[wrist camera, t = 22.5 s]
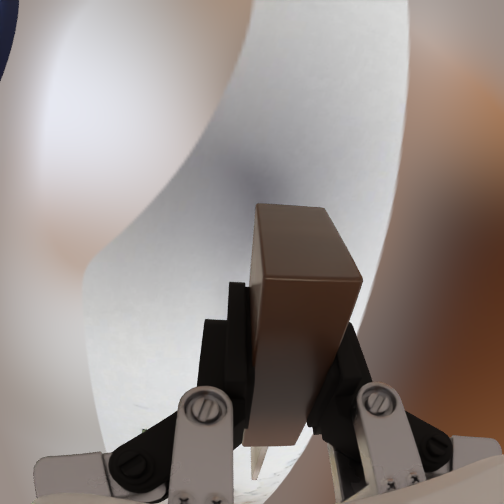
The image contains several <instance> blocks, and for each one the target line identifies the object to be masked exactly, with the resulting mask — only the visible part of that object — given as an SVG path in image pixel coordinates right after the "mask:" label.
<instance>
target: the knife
mask: <svg viewBox="0 0 504 504" xmlns="http://www.w3.org/2000/svg"><path fill="white" fill-rule="evenodd" d="M362 283H363V278H362V276H361V274H360V272H359V270H358V268H357V266H356V264H355V262H354V260H353V259H352V257H351V255H350V253H349V251H348V249H347V247H346V246H345V244H344V242H343V240H342V238H341V237H340V235H339V233H338V231H337V229H336V228H335V226H334V224H333V222H332V220H331V219H330V217H329V215H328V214H327V212H326V210H325V209H324V208H320V207H307V206H294V205H279V204H263V203H257V204H256V207H255V219H254V231H253V243H252V256H251V268H250V280H249V289H250V318H251V347H252V366H253V367H255V386H254V393H253V400H252V406H251V413H250V420H249V426H248V429H244V433H243V441H242V445H243V446H244V447H251V474H252V480H257V478H258V475H259V472H260V469H261V466H262V464H263V461H264V458H265V455H266V452H267V449H268V446H292V445H295V443H296V442H297V440H298V438H299V436H300V434H301V432H302V430H303V428H304V426H305V424H306V422H307V418H308V416H309V413H310V411H311V409H312V407H313V405H314V403H315V401H316V398H317V396H318V394H319V392H320V389H321V387H322V385H323V383H324V380H325V378H326V376H327V373H328V371H329V369H330V366H332V364H333V361H334V359H335V356H336V354H337V351H338V349H339V346H340V344H341V341H342V339H343V336H344V334H345V331H346V328H347V326H348V323H349V320H350V317H351V315H352V312H353V309H354V306H355V303H356V301H357V298H358V295H359V292H360V289H361V286H362Z"/></svg>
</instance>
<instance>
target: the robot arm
mask: <svg viewBox="0 0 504 504" xmlns="http://www.w3.org/2000/svg"><path fill="white" fill-rule="evenodd" d="M254 386H255V367H253V366H252V347H251V318H250V289H249V287H245V283H242V282H229V296H228V315H227V320H212V319H205V322H204V330H203V338H202V346H201V354H200V363H199V372H198V381H197V387H195V388H192V389H190V390H189V391H187V392H186V393H185V394H184V395H183V396H182V397H181V399H180V402H179V405H178V411H176V412H175V413H173V414H172V415H170V416H169V417H167V418H165V419H164V420H162V421H161V422H159V423H158V424H156V425H154V426H153V427H151V428H150V429H148V430H146V431H145V432H143V433H141V434H140V435H138V436H137V437H135V438H133V439H132V440H130V441H128V442H126V443H125V444H123V445H121V446H120V447H118V448H117V449H116V450H115V451H113V452H111V453H104V454H102V452H93V453H84V454H73V455H61V456H47V457H43V458H41V459H40V460H38V461H37V462H36V465H35V466H34V472H33V476H34V484H35V491H36V497H37V499H36V500H34V501H33V502H32V503H31V504H154V503H159V502H161V501H164V500H165V499H167V498H168V504H234V500H233V450H234V449H235V448H237V447H238V446H239V445H240V444H241V443H242V441H243V433H244V429H248V426H249V420H250V413H251V406H252V400H253V393H254ZM307 425H308V427H313V433H314V435H318V434H322V439H323V440H324V441H325V442H327V443H328V452H329V458H330V464H331V471H332V477H333V484H334V490H335V496H336V504H504V455H502V450H501V447H500V445H499V443H498V442H497V441H496V440H494V439H491V438H479V437H466V436H452V437H451V438H449V437H448V435H446V434H445V433H444V432H442V431H440V430H439V429H437V428H435V427H433V426H432V425H430V424H428V423H426V422H424V421H423V420H421V419H419V418H417V417H415V416H414V415H412V414H410V413H408V412H407V411H405V410H404V407H403V405H402V402H401V399H400V397H399V395H398V393H397V392H396V391H395V390H394V388H392V387H391V386H389V385H387V384H385V383H382V382H372V379H371V376H370V373H369V370H368V367H367V364H366V361H365V359H364V355H363V353H362V350H361V347H360V344H359V341H358V339H357V336H356V333H355V331H354V328H353V326H352V324H351V323H350V322H349V323H348V326H347V328H346V331H345V334H344V336H343V339H342V341H341V344H340V346H339V349H338V351H337V354H336V356H335V359H334V361H333V364H332V366H330V369H329V371H328V373H327V376H326V378H325V380H324V383H323V385H322V387H321V389H320V392H319V394H318V396H317V398H316V401H315V403H314V405H313V407H312V409H311V411H310V413H309V416H308V418H307Z"/></svg>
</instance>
